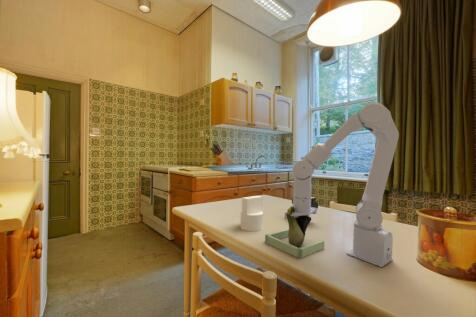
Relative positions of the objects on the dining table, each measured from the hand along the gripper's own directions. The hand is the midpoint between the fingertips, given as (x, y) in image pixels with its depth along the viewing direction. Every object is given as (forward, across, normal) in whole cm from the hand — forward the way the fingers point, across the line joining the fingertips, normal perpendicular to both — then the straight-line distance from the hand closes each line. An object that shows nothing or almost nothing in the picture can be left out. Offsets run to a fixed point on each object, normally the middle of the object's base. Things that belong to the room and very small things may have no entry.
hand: (300, 237), depth 74 cm
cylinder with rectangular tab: (+2, +4, -21) cm, 21 cm away
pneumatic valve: (+2, -22, -15) cm, 27 cm away
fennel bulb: (+1, +3, +1) cm, 3 cm away
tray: (+2, +4, 0) cm, 4 cm away
